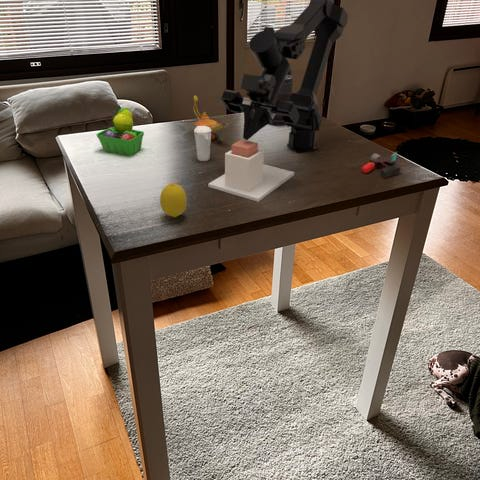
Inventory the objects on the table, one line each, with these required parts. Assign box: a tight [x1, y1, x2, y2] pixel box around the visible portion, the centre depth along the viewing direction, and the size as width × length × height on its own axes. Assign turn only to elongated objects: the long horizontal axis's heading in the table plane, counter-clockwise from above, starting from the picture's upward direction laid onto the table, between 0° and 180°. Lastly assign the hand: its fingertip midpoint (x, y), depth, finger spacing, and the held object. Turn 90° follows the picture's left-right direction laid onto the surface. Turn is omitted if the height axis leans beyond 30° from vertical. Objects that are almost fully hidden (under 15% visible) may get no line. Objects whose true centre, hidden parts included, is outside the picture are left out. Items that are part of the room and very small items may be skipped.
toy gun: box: [361, 152, 402, 179], centre depth 125 cm, size 10×12×5 cm
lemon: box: [159, 182, 188, 219], centre depth 100 cm, size 6×6×8 cm
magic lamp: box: [193, 95, 228, 140], centre depth 141 cm, size 7×18×11 cm, turn 36°
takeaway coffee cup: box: [193, 125, 214, 162], centre depth 127 cm, size 4×5×10 cm
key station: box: [207, 149, 295, 203], centre depth 116 cm, size 18×14×9 cm
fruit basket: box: [95, 107, 145, 157], centre depth 132 cm, size 11×9×11 cm
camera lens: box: [268, 74, 294, 127], centre depth 153 cm, size 8×8×15 cm
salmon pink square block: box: [231, 139, 259, 158], centre depth 111 cm, size 4×4×3 cm
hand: (245, 139), depth 109 cm, fingers closed
